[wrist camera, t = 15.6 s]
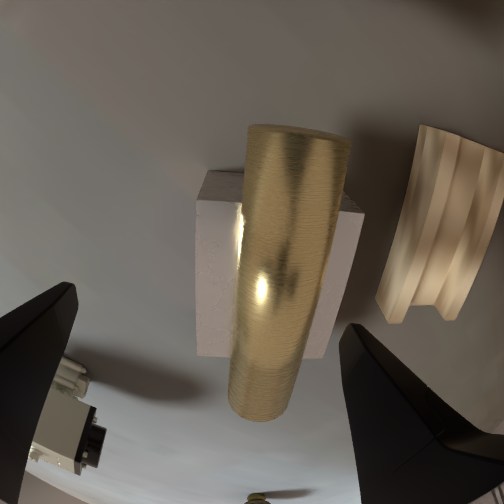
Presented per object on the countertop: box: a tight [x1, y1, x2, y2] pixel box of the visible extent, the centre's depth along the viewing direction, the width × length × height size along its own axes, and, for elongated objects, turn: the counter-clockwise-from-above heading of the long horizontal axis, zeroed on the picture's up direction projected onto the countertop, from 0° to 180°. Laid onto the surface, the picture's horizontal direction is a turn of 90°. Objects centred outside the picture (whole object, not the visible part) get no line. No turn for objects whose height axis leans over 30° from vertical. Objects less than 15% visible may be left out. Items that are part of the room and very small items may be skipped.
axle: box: [228, 124, 352, 422], centre depth 15 cm, size 16×4×4 cm, turn 175°
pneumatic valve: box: [28, 356, 107, 475], centre depth 22 cm, size 6×12×12 cm, turn 64°
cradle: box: [196, 171, 365, 359], centre depth 19 cm, size 10×8×6 cm
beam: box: [374, 124, 504, 324], centre depth 20 cm, size 14×7×3 cm, turn 175°
